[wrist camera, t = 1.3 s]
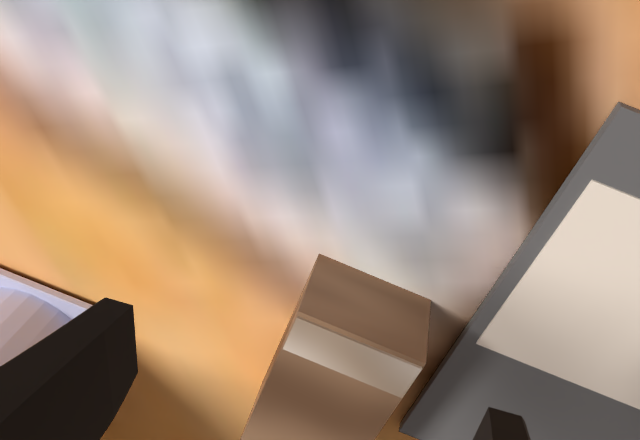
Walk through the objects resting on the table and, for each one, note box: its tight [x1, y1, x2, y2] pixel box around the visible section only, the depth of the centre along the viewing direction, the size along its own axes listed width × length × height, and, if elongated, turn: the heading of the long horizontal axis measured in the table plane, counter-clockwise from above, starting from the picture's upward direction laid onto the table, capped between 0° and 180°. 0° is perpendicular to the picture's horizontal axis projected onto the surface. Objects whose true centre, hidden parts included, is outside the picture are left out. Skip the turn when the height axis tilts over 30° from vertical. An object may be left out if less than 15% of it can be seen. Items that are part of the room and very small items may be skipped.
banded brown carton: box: [240, 254, 431, 440], centre depth 22 cm, size 8×4×4 cm, turn 161°
